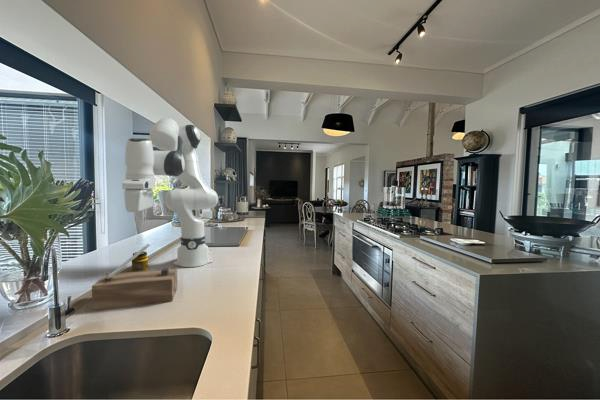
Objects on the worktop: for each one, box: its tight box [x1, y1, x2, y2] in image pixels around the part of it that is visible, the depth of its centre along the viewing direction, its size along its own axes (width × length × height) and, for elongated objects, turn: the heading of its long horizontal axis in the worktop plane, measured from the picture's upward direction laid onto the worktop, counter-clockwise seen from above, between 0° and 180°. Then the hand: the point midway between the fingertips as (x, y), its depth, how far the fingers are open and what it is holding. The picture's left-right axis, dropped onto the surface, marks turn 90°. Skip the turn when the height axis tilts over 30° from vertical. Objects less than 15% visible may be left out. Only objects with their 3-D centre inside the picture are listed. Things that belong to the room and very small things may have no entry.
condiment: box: [131, 251, 149, 272], centre depth 113 cm, size 7×8×12 cm
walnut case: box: [91, 267, 178, 310], centre depth 97 cm, size 12×24×10 cm, turn 107°
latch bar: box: [105, 243, 151, 280], centre depth 95 cm, size 4×17×1 cm
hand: (141, 222), depth 95 cm, fingers closed
